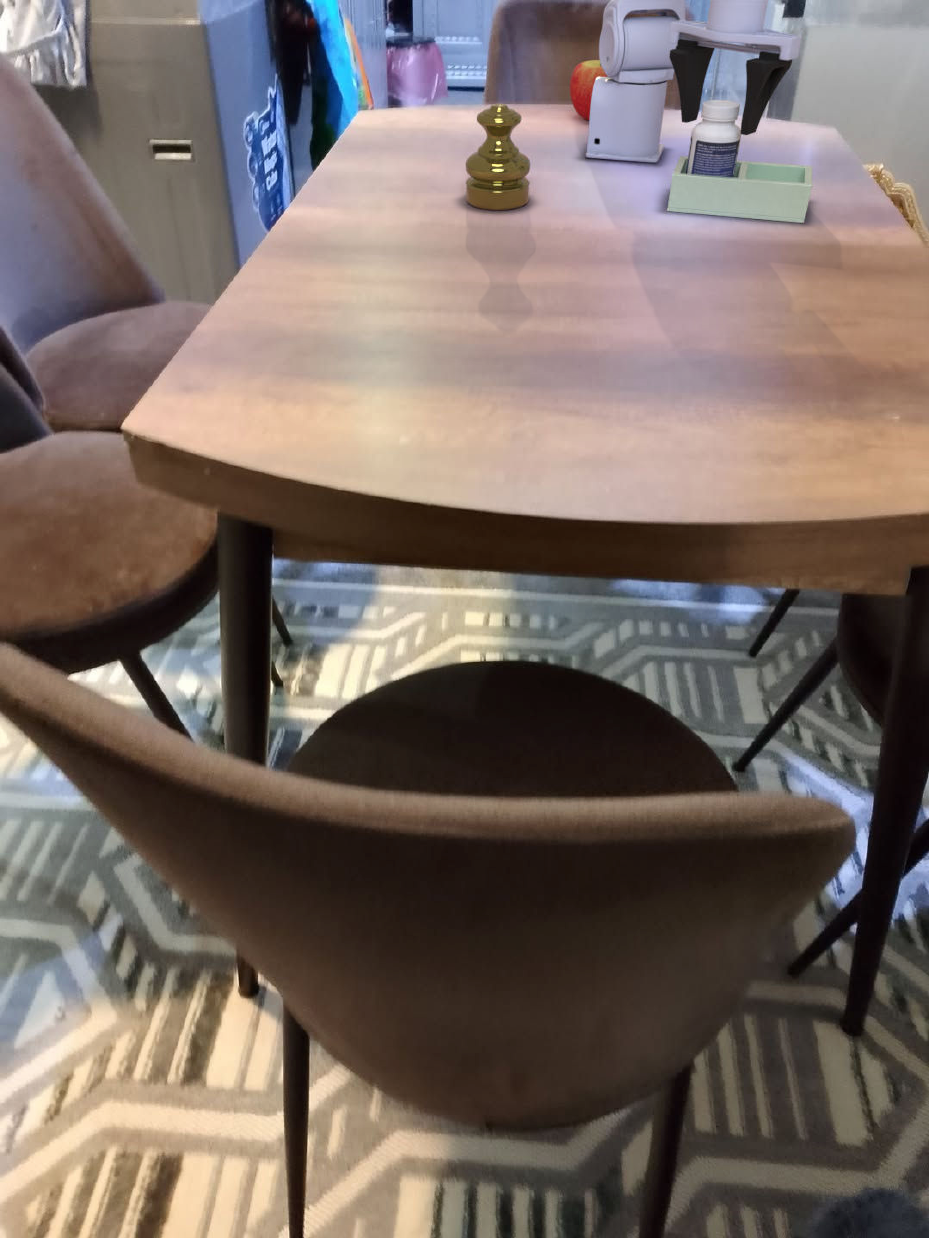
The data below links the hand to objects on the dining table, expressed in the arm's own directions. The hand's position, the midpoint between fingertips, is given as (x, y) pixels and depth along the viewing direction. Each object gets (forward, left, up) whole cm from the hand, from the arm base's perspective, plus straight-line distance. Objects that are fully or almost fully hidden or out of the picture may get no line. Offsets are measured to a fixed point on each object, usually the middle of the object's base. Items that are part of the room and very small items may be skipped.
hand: (718, 127), depth 100 cm
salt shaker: (-23, -6, -8) cm, 26 cm away
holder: (+4, 0, -8) cm, 9 cm away
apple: (-19, +37, -8) cm, 43 cm away
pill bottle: (0, 0, -8) cm, 8 cm away
